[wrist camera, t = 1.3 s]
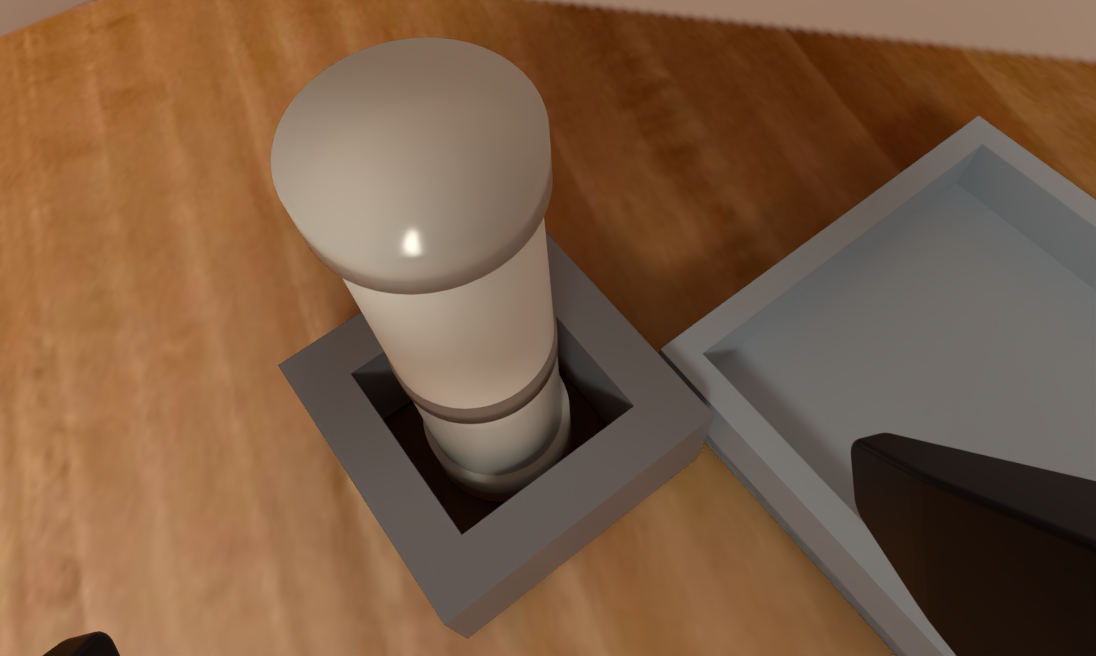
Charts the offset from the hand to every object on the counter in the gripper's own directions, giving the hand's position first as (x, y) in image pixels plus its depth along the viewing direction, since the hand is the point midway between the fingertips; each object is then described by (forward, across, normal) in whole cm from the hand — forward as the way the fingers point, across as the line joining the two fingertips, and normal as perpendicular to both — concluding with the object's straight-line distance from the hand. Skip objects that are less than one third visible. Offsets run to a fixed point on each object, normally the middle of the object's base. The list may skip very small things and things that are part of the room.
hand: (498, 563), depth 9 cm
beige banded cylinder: (+13, 0, +4) cm, 13 cm away
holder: (+13, 0, +4) cm, 13 cm away
